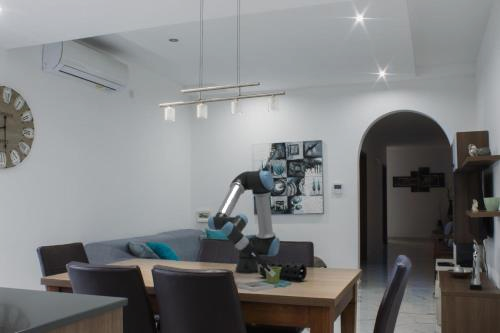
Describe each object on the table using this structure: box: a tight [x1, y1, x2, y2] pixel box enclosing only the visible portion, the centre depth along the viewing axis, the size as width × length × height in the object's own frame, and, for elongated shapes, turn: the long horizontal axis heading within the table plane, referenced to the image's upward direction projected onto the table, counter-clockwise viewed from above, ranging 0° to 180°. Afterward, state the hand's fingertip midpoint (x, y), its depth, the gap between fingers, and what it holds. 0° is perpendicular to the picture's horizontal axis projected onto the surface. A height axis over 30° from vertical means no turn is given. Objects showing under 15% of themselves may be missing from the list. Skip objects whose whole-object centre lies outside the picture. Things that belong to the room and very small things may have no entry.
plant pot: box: [265, 267, 281, 284], centre depth 274 cm, size 9×9×9 cm
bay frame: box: [236, 279, 292, 292], centre depth 269 cm, size 18×27×2 cm
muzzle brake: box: [257, 259, 308, 282], centre depth 291 cm, size 10×28×10 cm, turn 55°
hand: (272, 273), depth 274 cm, fingers open, 13 cm apart
